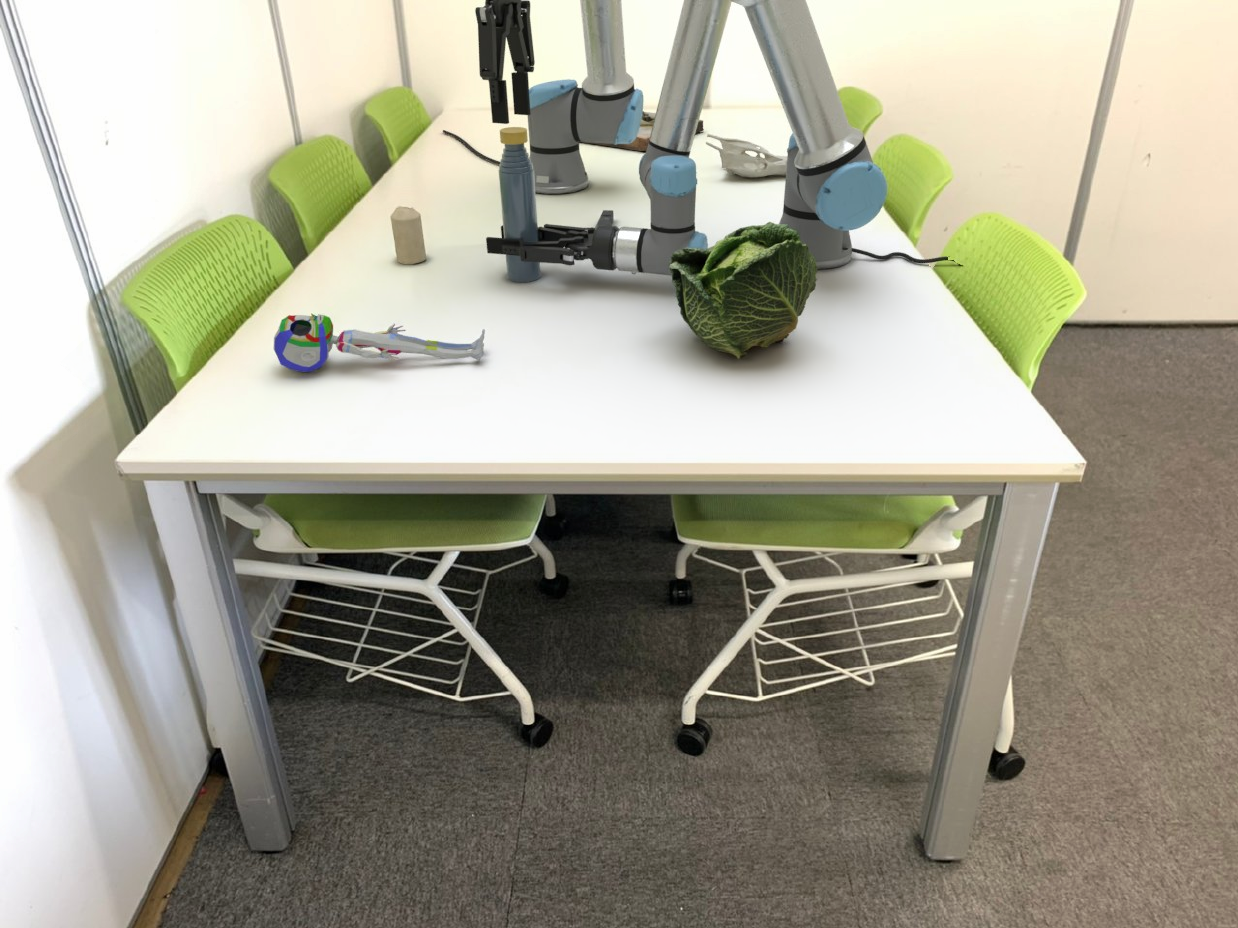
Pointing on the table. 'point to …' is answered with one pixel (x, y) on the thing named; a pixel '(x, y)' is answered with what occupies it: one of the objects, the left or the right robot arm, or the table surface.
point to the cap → (513, 135)
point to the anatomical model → (748, 158)
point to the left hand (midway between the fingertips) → (511, 118)
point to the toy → (354, 343)
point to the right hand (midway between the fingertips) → (495, 239)
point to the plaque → (645, 133)
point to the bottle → (519, 208)
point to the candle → (408, 235)
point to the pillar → (606, 218)
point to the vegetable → (744, 287)
